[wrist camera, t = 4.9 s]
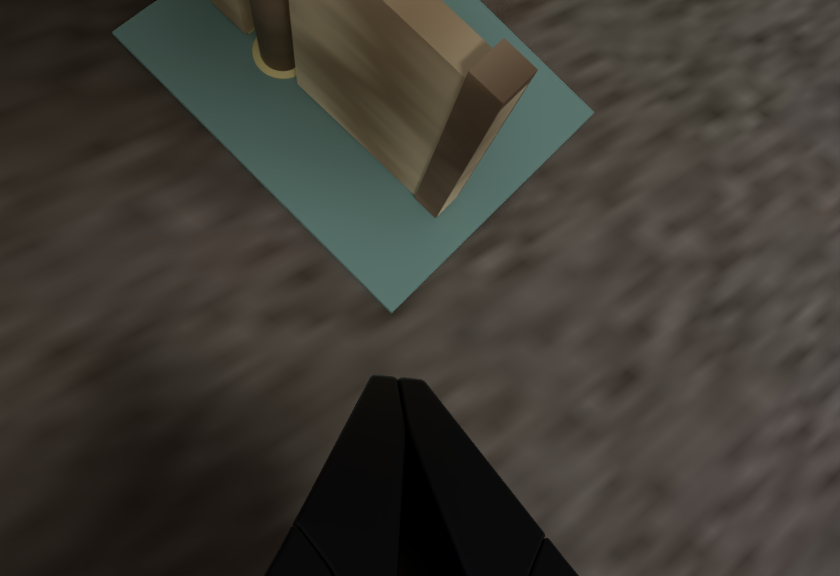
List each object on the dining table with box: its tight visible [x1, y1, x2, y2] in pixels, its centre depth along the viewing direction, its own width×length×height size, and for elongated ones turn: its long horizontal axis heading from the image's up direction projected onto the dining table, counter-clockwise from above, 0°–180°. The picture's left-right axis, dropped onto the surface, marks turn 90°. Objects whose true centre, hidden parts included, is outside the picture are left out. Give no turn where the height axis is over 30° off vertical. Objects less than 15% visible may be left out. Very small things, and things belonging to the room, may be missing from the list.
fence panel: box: [289, 0, 538, 218], centre depth 19 cm, size 8×1×10 cm, turn 47°
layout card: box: [112, 0, 594, 313], centre depth 25 cm, size 16×13×1 cm
